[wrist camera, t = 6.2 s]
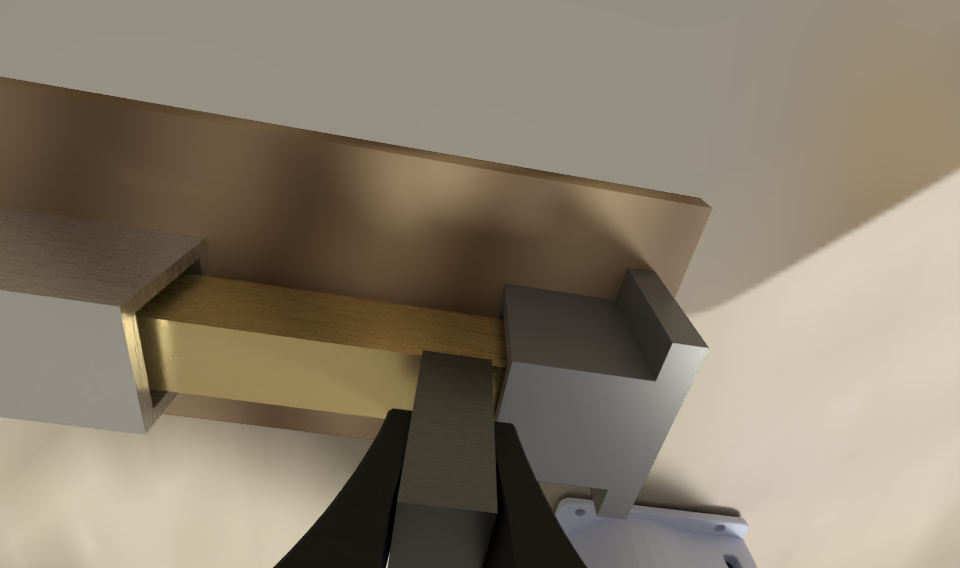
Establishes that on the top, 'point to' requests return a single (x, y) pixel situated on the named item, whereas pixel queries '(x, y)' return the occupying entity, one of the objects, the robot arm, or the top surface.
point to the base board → (333, 214)
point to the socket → (596, 383)
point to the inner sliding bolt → (352, 387)
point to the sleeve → (82, 317)
